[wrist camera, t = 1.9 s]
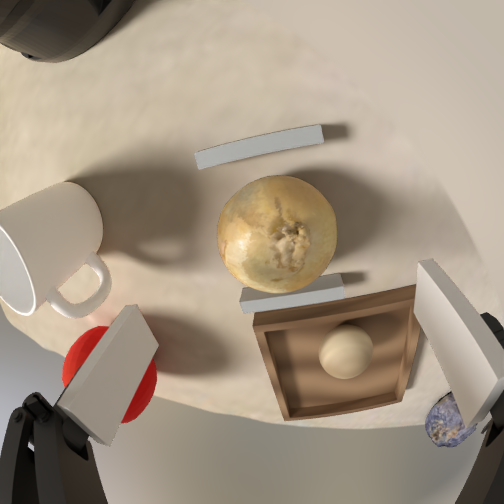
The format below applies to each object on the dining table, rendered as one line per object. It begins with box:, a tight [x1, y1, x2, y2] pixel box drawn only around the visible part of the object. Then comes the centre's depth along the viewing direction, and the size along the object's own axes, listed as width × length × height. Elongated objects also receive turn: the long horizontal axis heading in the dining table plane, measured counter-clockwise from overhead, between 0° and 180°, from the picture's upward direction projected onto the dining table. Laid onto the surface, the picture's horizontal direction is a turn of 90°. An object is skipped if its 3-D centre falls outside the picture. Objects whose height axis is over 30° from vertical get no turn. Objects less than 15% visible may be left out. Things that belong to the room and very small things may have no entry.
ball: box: [319, 324, 373, 379], centre depth 22 cm, size 5×5×5 cm
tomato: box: [62, 326, 157, 423], centre depth 25 cm, size 10×11×11 cm
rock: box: [425, 393, 477, 447], centre depth 27 cm, size 11×10×10 cm
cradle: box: [194, 125, 345, 313], centre depth 20 cm, size 13×8×2 cm, turn 14°
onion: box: [217, 175, 337, 293], centre depth 18 cm, size 8×8×7 cm
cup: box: [0, 182, 112, 318], centre depth 19 cm, size 8×12×10 cm
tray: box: [253, 285, 421, 421], centre depth 26 cm, size 18×16×2 cm
